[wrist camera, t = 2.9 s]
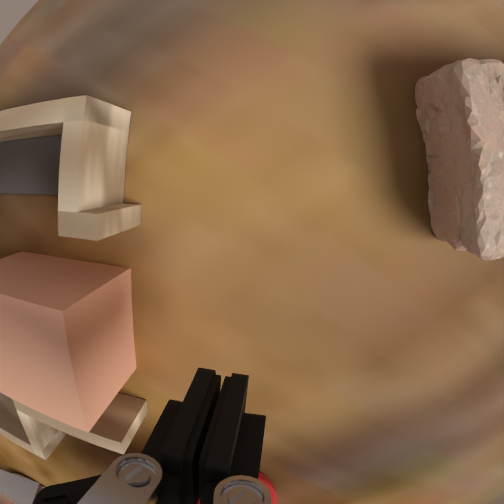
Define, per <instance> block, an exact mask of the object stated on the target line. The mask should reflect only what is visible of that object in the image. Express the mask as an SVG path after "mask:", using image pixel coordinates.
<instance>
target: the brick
mask: <svg viewBox="0 0 504 504" xmlns="http://www.w3.org/2000/svg"><path fill="white" fill-rule="evenodd" d="M415 101H416V105H417V109H416V117H417V121H418V122H419V125H420V127H421V131H422V133H423V140H424V142H425V145H426V147H425V149H426V162H427V163H428V170H429V174H428V184H429V191H428V207H429V212H430V218H431V227H432V230H433V232H434V234H435V236H436V238H437V239H439V240H441V241H443V242H448V243H449V244H450V245H451V246H452V247H453V248H454V249H455V250H458V251H469V252H471V253H474V254H476V255H477V256H479V257H480V258H481V259H482V260H493V259H498V258H502V257H504V62H501V61H500V60H496V59H482V60H476V59H472V58H467V59H462V60H456V61H455V63H451V64H447V65H444V66H443V67H442V68H440V69H438V70H436V71H434V72H433V73H432V74H430V75H428V76H424V77H422V78H419V79H418V81H417V83H416V85H415Z"/></svg>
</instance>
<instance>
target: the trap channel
mask: <svg viewBox="0 0 504 504" xmlns="http://www.w3.org/2000/svg"><path fill="white" fill-rule="evenodd" d="M130 116H131V112H130V111H128V110H125V109H122V108H120V107H117V106H115V105H112V104H109V103H107V102H104V101H101V100H99V99H96V98H93V97H90V96H88V95H84V96H77V97H70V98H63V99H57V100H51V101H45V102H40V103H34V104H29V105H25V106H20V107H15V108H11V109H7V110H3V111H0V142H1V143H0V193H10V194H45V195H58V236H63V237H71V238H79V239H87V240H95V241H98V240H101V239H104V238H107V237H109V236H112V235H115V234H117V233H120V232H123V231H126V230H128V229H131V228H134V227H137V226H140V224H141V204H128V203H123V197H124V180H125V165H126V153H127V143H128V133H129V124H130ZM57 135H62V136H57ZM47 136H51V137H47ZM37 137H41V138H37ZM28 138H32V139H28ZM20 139H23V140H20ZM12 140H15V141H12ZM5 141H8V142H5ZM147 412H148V410H147V401H146V400H144V399H140V398H136V397H132V396H129V395H125V394H121V393H117V395H116V396H115V397H114V399H113V400H112V402H111V403H110V404H109V406H108V407H107V408H106V410H105V411H104V412H103V414H102V415H101V416H100V418H99V419H98V421H97V422H96V423H95V425H94V426H93V427H92V429H91V430H90V432H89V433H88V432H86V431H83V430H80V429H78V428H75V427H73V426H70V425H68V424H65V423H63V422H61V421H58V420H56V419H54V418H51V417H49V416H47V415H44V414H42V413H40V412H38V411H36V410H34V409H32V408H30V407H28V406H25V405H23V404H21V403H19V402H18V401H16V400H14V399H12V398H10V397H8V396H6V395H4V394H2V393H1V392H0V434H1V435H2V436H4V437H6V438H7V439H9V440H11V441H12V442H14V443H16V444H17V445H19V446H21V447H23V448H25V449H26V450H28V451H30V452H32V453H34V454H36V455H37V456H39V457H41V458H43V459H45V460H46V459H47V458H48V457H49V456H50V454H51V453H52V452H53V450H54V449H55V448H56V447H57V445H58V444H59V443H60V442H61V440H62V439H63V438H64V436H65V435H66V434H69V435H71V436H74V437H76V438H79V439H81V440H84V441H87V442H89V443H92V444H94V445H97V446H100V447H103V448H106V449H108V450H111V451H114V452H117V453H120V454H124V453H125V451H126V450H127V448H128V446H129V444H130V442H131V441H132V439H133V437H134V435H135V434H136V432H137V430H138V428H139V426H140V425H141V423H142V421H143V419H144V418H145V416H146V414H147Z"/></svg>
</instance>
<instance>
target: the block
mask: <svg viewBox="0 0 504 504" xmlns="http://www.w3.org/2000/svg"><path fill="white" fill-rule="evenodd" d="M135 369H136V358H135V347H134V333H133V317H132V295H131V268H128V267H121V266H114V265H107V264H100V263H93V262H87V261H80V260H74V259H67V258H61V257H55V256H48V255H42V254H36V253H30V252H24V251H21V252H19V253H16V254H13V255H10V256H7V257H4V258H2V259H0V392H1V393H2V394H4V395H6V396H8V397H10V398H12V399H14V400H16V401H18V402H19V403H21V404H23V405H25V406H28V407H30V408H32V409H34V410H36V411H38V412H40V413H42V414H44V415H47V416H49V417H51V418H54V419H56V420H58V421H61V422H63V423H65V424H68V425H70V426H73V427H75V428H78V429H80V430H83V431H86V432H88V433H89V432H90V430H91V429H92V427H93V426H94V425H95V423H96V422H97V421H98V419H99V418H100V416H101V415H102V414H103V412H104V411H105V410H106V408H107V407H108V406H109V404H110V403H111V402H112V400H113V399H114V397H115V396H116V395H117V393H118V392H119V391H120V389H121V388H122V387H123V385H124V384H125V383H126V381H127V380H128V379H129V377H130V376H131V375H132V373H133V372H134V371H135Z"/></svg>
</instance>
